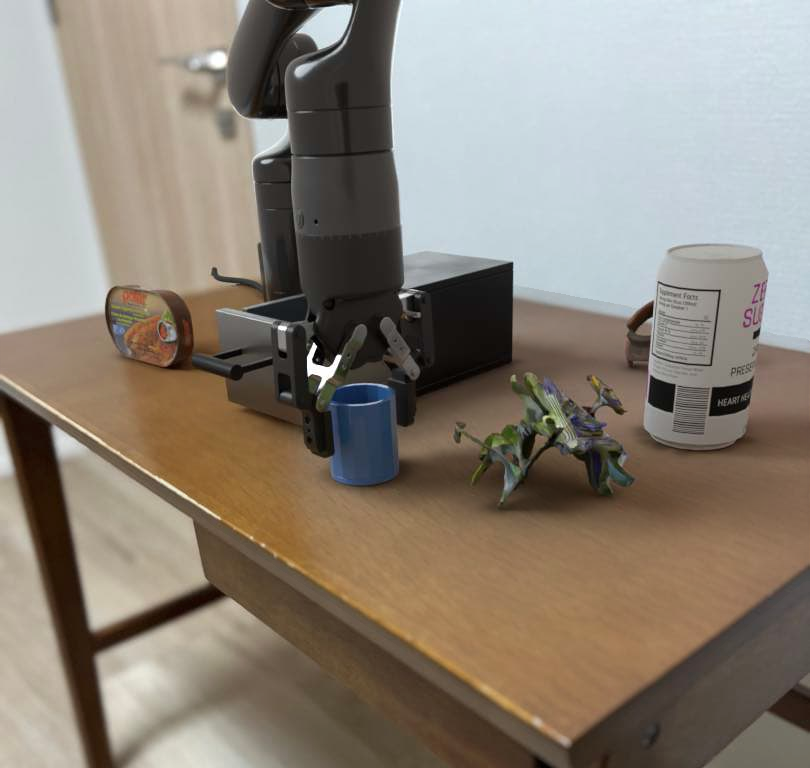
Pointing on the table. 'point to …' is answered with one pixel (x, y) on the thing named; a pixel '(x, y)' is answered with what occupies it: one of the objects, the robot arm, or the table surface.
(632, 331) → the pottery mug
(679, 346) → the supplement can
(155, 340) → the tin
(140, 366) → the table surface
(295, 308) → the dish drawer
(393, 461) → the blue cup
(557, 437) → the passion flower
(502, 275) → the black drawer cabinet
